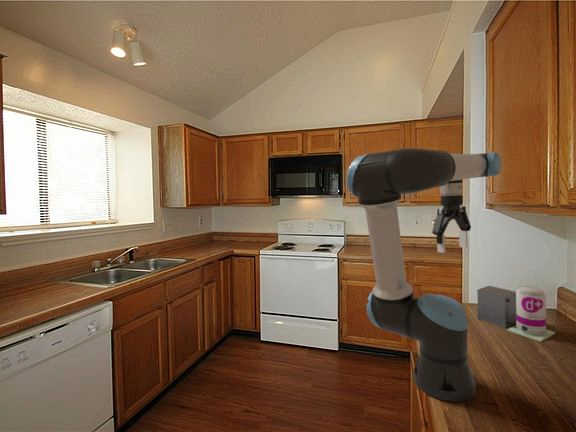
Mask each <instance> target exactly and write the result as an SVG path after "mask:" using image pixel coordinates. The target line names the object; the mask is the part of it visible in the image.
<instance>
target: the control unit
mask: <svg viewBox="0 0 576 432" xmlns="http://www.w3.org/2000/svg"><path fill="white" fill-rule="evenodd" d="M476 291H477V294H476V295H477V320H479V319H481V320H480V321H482V320H484V321H483V322H485V321H487V322H486V323H488V322H490V323H489V324H491V323H494V324H497V325H500V326H503V327H505V328H504V329H507V328H509V327H511V326H513V325H515V324H516V290H515V291H514V290H510V289H506V288H501V287H496V286H492V285H487V286H483V287H481V288H479V289H477V290H476ZM514 323H515V324H514ZM494 324H493V325H494ZM512 324H513V325H512ZM497 325H496V326H497ZM510 325H511V326H510ZM500 326H499V327H500ZM508 326H509V327H508ZM503 327H502V328H503ZM506 327H507V328H506Z"/></svg>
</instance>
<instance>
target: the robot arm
mask: <svg viewBox="0 0 576 432" xmlns="http://www.w3.org/2000/svg"><path fill="white" fill-rule="evenodd" d="M501 170H502V158H501V156H500V153H499V152H494V151H493V152H485V153H457V152H456V153H449V152H448V151H445V150H441V149H428V148H418V147H417V148H416V147H415V148H414V147H413V148H411V147H409V148H407V147H404V148H398V149H393V150H386V151H381V152H380V151H379V152H372V153H370V152H369V153H367V154H362V155H360V156H357V157H356V158H354V159H353V160H352V161H351V163H350V166H349V167H348V169H347V172H346V186H347V190H348V191H349V192H350V193H351V195H352V196H354V197H357V200H358V205H359V206H360V207H362V208H363V209H364V210H365V216H366V223H367V229H368V235H369V236H368V237H369V242H370V249H371V250H370V251H371V256H372V257H371V258H372V263H373V269H374V271H373V272H374V276H375V285H374V287H373V288H372V291H371V292H370V293H369V295H368V297H367V301H368V302H367V303H366V313H367V316H368V319H369V320H370V322H371V323H372V324H373V326H375V327H377V328H379V329H381V330H383V331H385V332H389V333H393V334H396V335H398V336H403V337H405V338H408V339H411V340H413V341H417V342H418V344H419V353H418V355H417V359H416V363H415V365H414V368H413V381H414V384H415V385H416V387H417V388H418V389H419V390H421V391H422V392H423V393H424V394H426V395H428V396H430V397H432V398H434V399H438V400H441V401H444V402H451V403H452V402H454V403H457V402H460V403H462V402H466V401H469V400H471V399H472V398H473V397H475V395H476V392H477V391H476V390H477V389H476V387H477V386H476V385H477V383H476V380H475V378H474V375H473V372H472V369H471V366H470V363H469V361H468V325H469V323H468V320H467V319H468V318H467V312H466V309H465V307H464V306H463V305H462V304H461V303H460V302H459V301H457V300H455V299H453V298H451V297H448V296H445V295H441V294H432V293H426V294H422V295H420V296H419V297H415V295H414V289H413V286H412V285H411V284H410V283H408V282H407V277H406V276H407V275H406V268H405V261H404V259H405V258H404V252H403V246H402V235H401V230H400V221H399V215H398V207H397V205H398V203H400V201H401V200H402V195H409V194H413V193H419V192H423V191H427V190H431V189H435V188H439V189H440V190H439V192H440V193H439V194H440V195H441V196H440V205H441V206H443V208H437V211H436V212H437V214H436V217H435V220H434V225H433V227H432V232H431V233H432V234H433V235H435V236H436V244H437V246H436V248H437V251H436V252H437V253H442V254H444V253H446V238H445V237H446V235H445V234H444V233H445V232H446V230H447V227H448V225H449V224H450V222H451V221H452V220H454V221H455V223H456V224H457V226H458V228H459V229H460V230H458V233H459V235H458V237H459V238H458V239H459V241H458V242H459V243H458V244H459V248H466V249H467V248H468V232H470V231H471V228H472V226H471V222H470V219H469V217H468V214H467V213H468V212H467V209H466V208H467V206H465V205H464V206H463V204H464V197H463V195H462V194H463V192H464V191H463V180H468V179H477V178H486V177H487V178H489V177H495V176H498V175H499V174H500V173H501Z"/></svg>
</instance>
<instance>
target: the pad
mask: <svg viewBox="0 0 576 432" xmlns="http://www.w3.org/2000/svg"><path fill="white" fill-rule="evenodd" d="M507 331H508V332H510V331H511V332H510V333H513V334H516V335H520V336H522V337H526V338H527V339H531V340H534V341H537V342H542V341H545V340H547V339H548V338H550V337H552V336H554V335H555V334H556V332H555V331H554V330H553V331H552V330H550V329H546V332H545V333H543V334H541V335H533V334H528V333H524V332H522V331H520V330H519V329H518V328H517V326H516V324H514V326H513V325H512V327H511V326H510V327H508V328H507Z"/></svg>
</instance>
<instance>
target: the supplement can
mask: <svg viewBox="0 0 576 432" xmlns="http://www.w3.org/2000/svg"><path fill="white" fill-rule="evenodd" d="M515 292H516V323H515V325H516V326H517V328H518V329H519V330H520V331H522V332H524V333H528V334H533V335H541V334H543V333H545V332H546V330H547V294H546V292H545V291H544V289H542V288H541V287H537V286H530V285H522V286H518V288H517V289H516V290H515Z"/></svg>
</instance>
